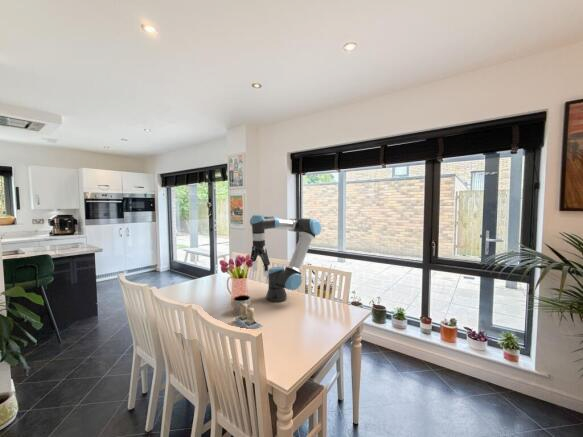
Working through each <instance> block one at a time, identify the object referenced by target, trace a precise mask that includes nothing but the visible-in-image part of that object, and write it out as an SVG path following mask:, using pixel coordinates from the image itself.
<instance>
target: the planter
mask: <svg viewBox="0 0 583 437" xmlns="http://www.w3.org/2000/svg"><path fill="white" fill-rule="evenodd" d="M232 301H233V302H232V303H233V306H232V308H233V314H234V316H235V315H236V316H241V304H247V309H248V308H252V307H251V296H250V295H246V294H245V295H244V294H242V295H241V294H240V295H236V296H234V297H233V299H232Z"/></svg>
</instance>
